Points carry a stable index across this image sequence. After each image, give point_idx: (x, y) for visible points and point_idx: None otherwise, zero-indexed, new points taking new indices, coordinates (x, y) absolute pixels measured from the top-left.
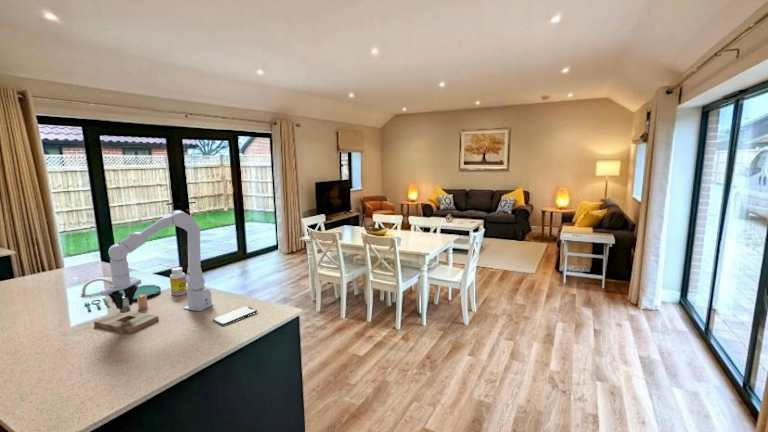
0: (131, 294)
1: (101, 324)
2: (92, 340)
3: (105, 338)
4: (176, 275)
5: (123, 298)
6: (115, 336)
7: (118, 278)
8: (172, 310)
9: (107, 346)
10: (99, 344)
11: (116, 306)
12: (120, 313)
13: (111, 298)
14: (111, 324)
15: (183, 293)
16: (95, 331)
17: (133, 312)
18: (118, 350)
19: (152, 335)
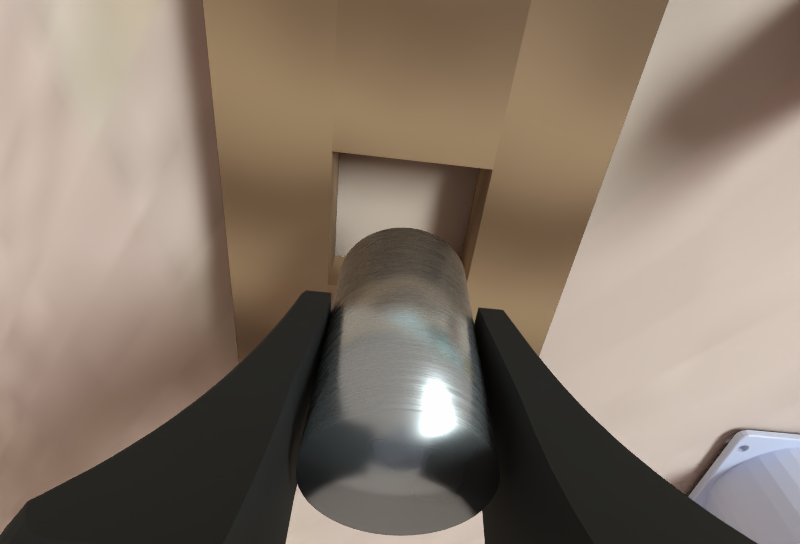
0: None
1: (210, 20)
2: (30, 200)
3: (117, 275)
4: None
5: (340, 518)
6: (179, 318)
7: None
8: (720, 370)
9: (66, 383)
10: (42, 314)
11: (290, 314)
12: None
13: (163, 430)
14: (238, 195)
15: None
16: (139, 22)
17: (592, 152)
18: (85, 465)
19: (295, 495)
